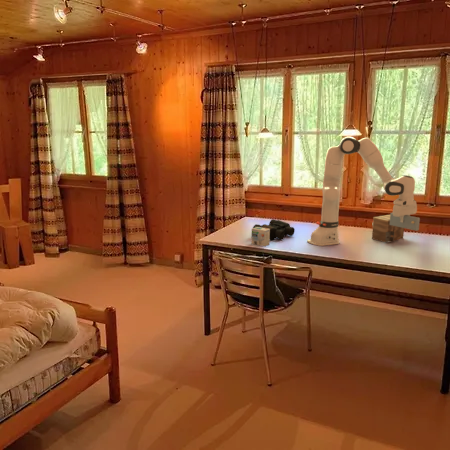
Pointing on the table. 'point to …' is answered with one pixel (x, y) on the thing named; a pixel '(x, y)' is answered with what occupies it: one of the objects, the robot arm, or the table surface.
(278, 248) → the table surface
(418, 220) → the door
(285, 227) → the binoculars
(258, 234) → the light bulb box
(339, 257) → the table surface
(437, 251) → the table surface
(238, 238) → the table surface
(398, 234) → the brown wooden crate
